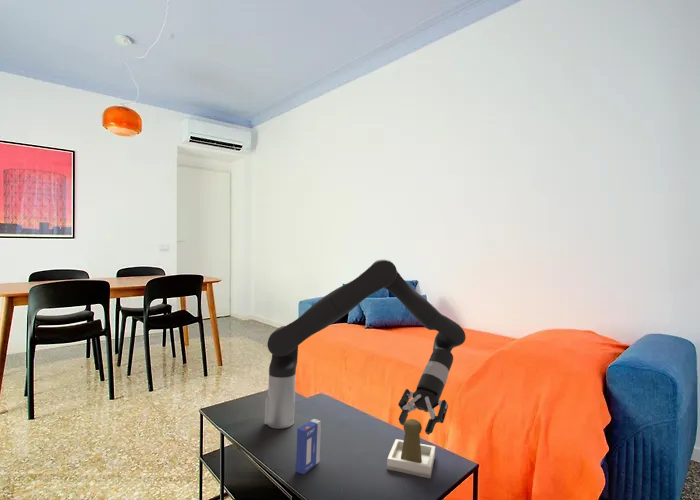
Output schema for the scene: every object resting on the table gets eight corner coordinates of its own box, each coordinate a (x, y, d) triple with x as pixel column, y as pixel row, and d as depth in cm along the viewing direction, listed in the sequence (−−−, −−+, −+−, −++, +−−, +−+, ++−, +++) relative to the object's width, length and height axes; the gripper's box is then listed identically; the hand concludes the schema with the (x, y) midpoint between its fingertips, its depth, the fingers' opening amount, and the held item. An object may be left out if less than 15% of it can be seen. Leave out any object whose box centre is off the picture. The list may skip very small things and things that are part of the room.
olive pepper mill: (398, 453, 113) (400, 416, 113) (418, 453, 113) (420, 416, 114) (403, 465, 107) (404, 425, 107) (424, 464, 107) (425, 425, 108)
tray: (387, 469, 106) (387, 458, 106) (395, 448, 118) (395, 438, 118) (430, 478, 103) (430, 467, 103) (435, 456, 114) (435, 446, 114)
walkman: (303, 474, 102) (305, 430, 102) (295, 471, 104) (297, 427, 104) (320, 461, 109) (321, 419, 109) (312, 458, 110) (313, 417, 111)
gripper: (409, 368, 122) (388, 414, 113) (451, 378, 113) (432, 430, 104) (417, 380, 126) (397, 426, 117) (458, 391, 117) (440, 442, 108)
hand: (413, 428), depth 111 cm, fingers open, 8 cm apart
